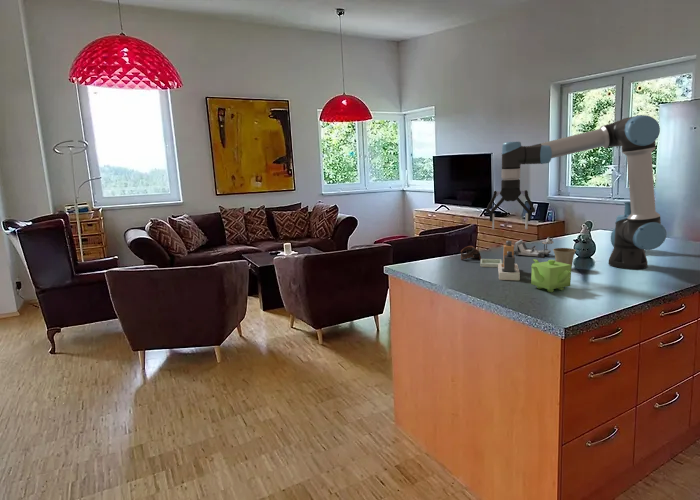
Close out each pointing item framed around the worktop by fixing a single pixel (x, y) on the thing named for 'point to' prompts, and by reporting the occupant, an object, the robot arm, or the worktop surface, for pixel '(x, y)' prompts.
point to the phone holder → (523, 250)
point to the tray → (490, 262)
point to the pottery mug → (470, 253)
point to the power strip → (508, 268)
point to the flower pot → (564, 255)
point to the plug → (508, 249)
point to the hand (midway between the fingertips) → (509, 228)
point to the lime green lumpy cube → (550, 275)
